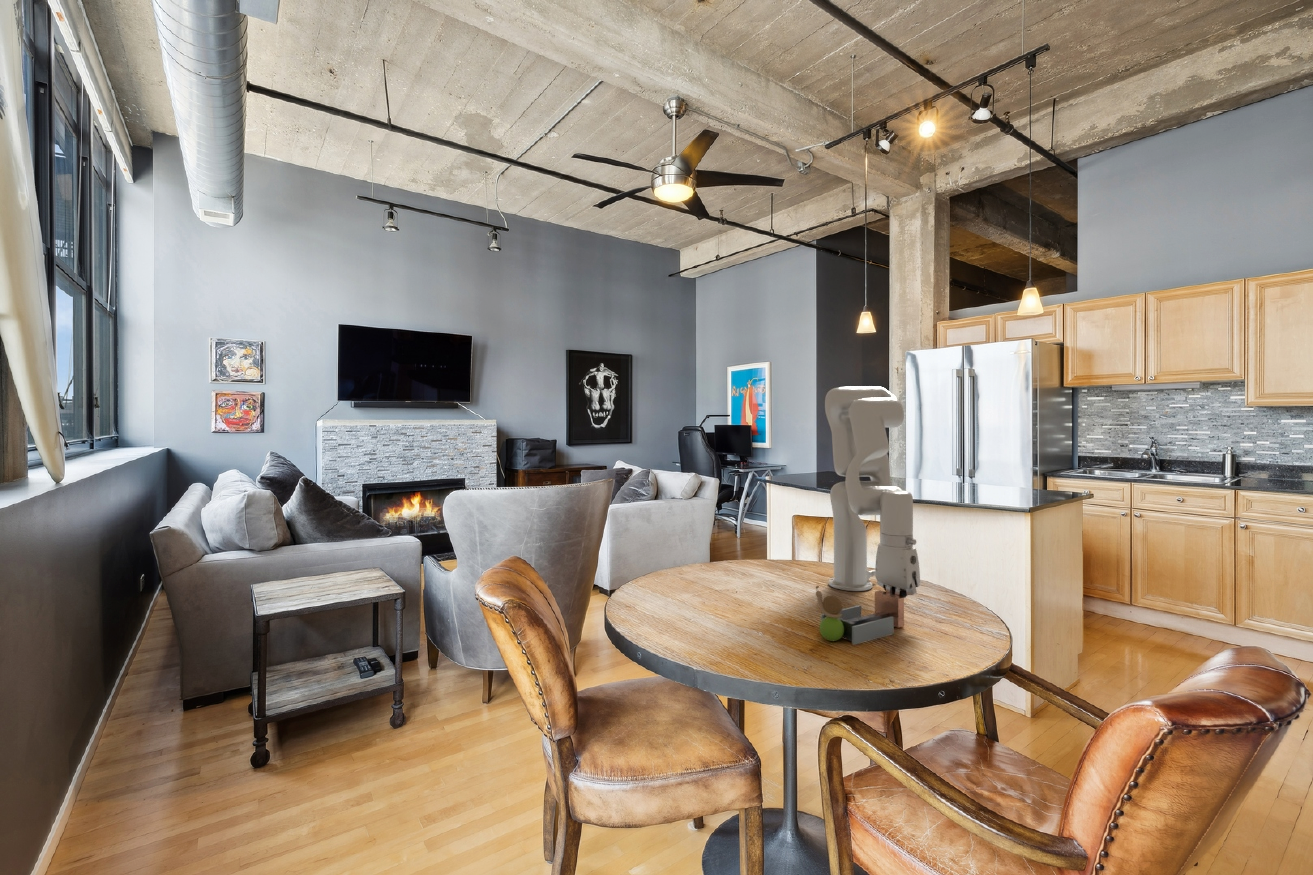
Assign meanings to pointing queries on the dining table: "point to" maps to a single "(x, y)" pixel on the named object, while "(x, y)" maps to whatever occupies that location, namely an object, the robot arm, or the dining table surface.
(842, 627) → the snail figurine
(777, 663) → the dining table surface
